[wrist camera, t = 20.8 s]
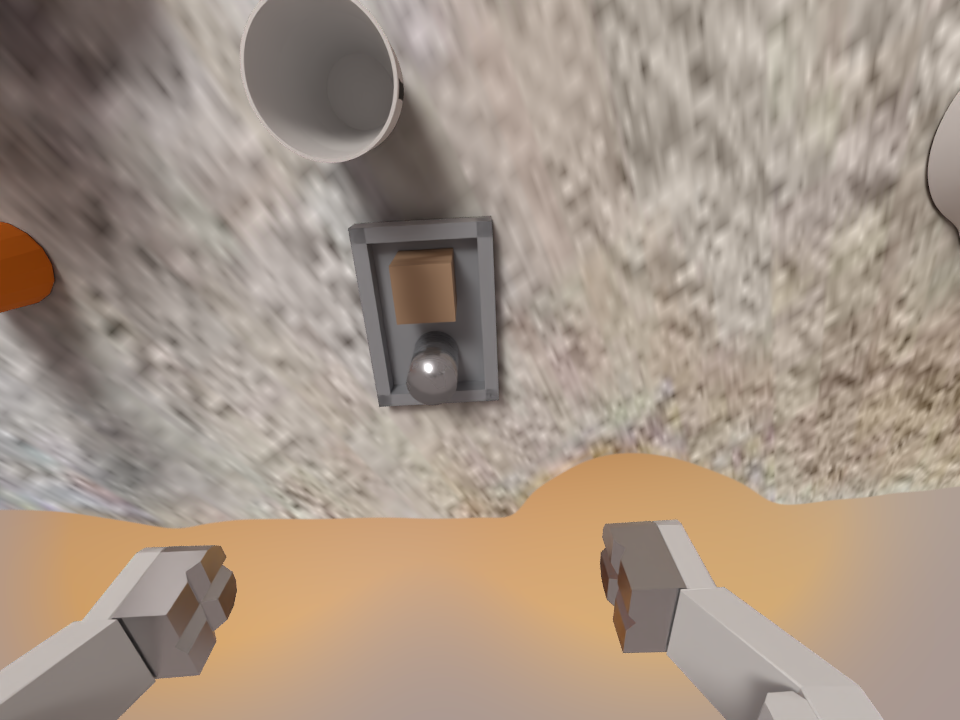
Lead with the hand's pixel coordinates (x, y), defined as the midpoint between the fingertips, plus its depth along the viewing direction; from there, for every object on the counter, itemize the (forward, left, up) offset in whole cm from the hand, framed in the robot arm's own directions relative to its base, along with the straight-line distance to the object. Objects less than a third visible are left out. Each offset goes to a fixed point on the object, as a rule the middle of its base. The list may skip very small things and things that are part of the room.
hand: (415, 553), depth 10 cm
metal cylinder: (+2, +9, -31) cm, 32 cm away
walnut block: (+2, +2, -31) cm, 31 cm away
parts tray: (+2, +6, -31) cm, 32 cm away
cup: (+6, -11, -31) cm, 34 cm away
